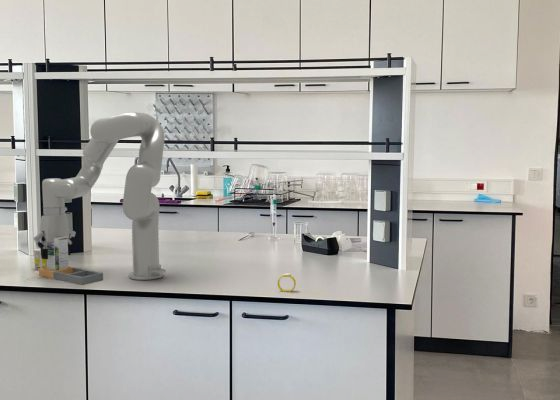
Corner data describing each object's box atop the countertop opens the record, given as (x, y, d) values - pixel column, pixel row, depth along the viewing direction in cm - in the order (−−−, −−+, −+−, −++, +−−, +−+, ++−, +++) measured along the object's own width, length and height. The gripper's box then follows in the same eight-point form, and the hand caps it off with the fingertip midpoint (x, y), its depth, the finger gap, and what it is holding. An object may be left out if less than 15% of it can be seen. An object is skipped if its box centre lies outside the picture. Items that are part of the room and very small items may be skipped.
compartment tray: (103, 279, 224) (102, 273, 224) (82, 284, 217) (81, 277, 217) (60, 270, 239) (59, 264, 239) (39, 275, 232) (38, 268, 232)
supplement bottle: (51, 267, 246) (50, 241, 245) (48, 270, 241) (46, 244, 240) (37, 267, 246) (36, 242, 245) (33, 270, 240) (31, 244, 239)
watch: (277, 292, 206) (276, 275, 206) (279, 290, 209) (277, 273, 208) (295, 292, 205) (294, 274, 204) (296, 290, 208) (295, 272, 207)
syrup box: (46, 274, 232) (44, 236, 230) (58, 271, 237) (57, 234, 236) (57, 276, 229) (55, 237, 228) (69, 273, 234) (68, 235, 233)
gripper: (68, 208, 240) (69, 252, 241) (27, 213, 226) (29, 259, 227) (80, 209, 235) (81, 254, 237) (39, 214, 221) (41, 261, 223)
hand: (56, 256), depth 232 cm, fingers open, 9 cm apart
